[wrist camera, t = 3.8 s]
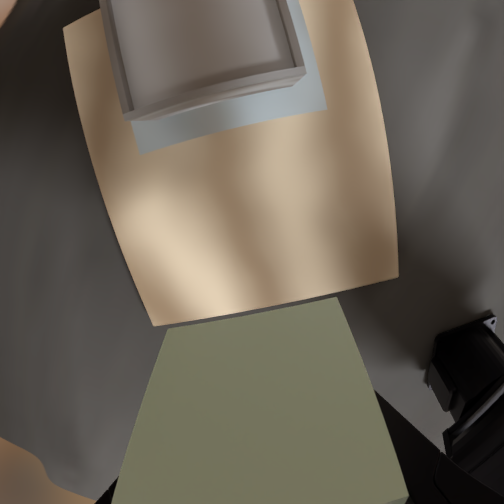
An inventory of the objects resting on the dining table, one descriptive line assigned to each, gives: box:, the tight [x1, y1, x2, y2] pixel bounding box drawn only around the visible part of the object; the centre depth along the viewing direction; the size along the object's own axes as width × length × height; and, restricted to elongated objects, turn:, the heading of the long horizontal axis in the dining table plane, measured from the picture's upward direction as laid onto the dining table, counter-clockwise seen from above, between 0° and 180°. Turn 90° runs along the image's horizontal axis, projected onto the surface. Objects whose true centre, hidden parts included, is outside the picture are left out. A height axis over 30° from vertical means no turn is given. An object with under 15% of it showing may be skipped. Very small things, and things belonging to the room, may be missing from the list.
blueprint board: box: [63, 0, 399, 326], centre depth 14 cm, size 16×20×6 cm
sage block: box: [111, 297, 409, 504], centre depth 7 cm, size 5×5×6 cm
